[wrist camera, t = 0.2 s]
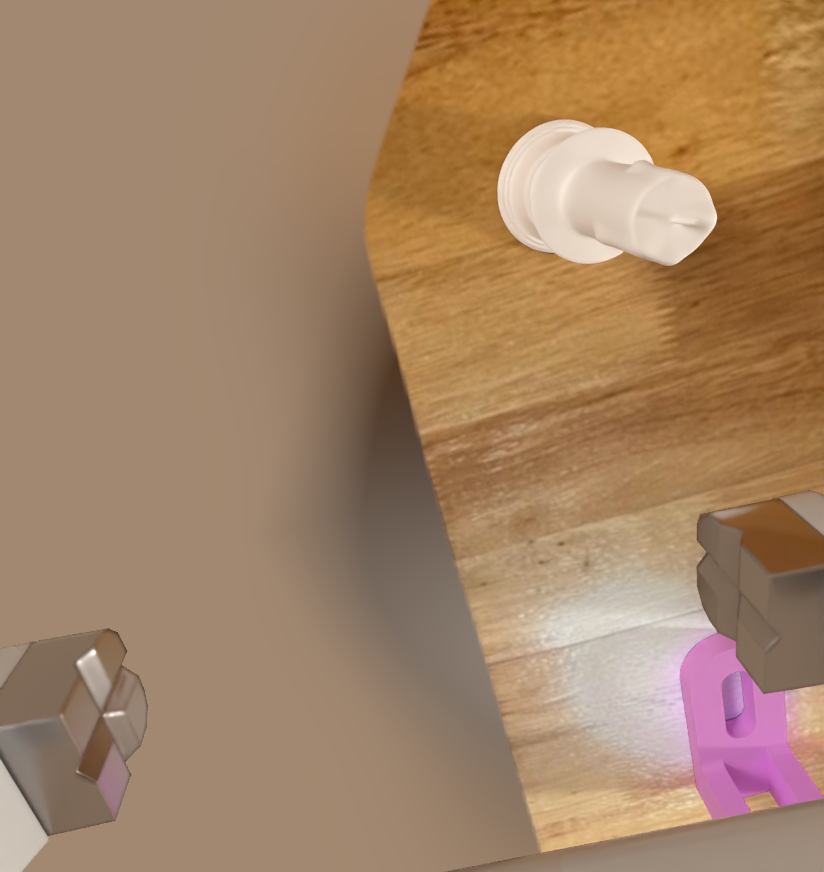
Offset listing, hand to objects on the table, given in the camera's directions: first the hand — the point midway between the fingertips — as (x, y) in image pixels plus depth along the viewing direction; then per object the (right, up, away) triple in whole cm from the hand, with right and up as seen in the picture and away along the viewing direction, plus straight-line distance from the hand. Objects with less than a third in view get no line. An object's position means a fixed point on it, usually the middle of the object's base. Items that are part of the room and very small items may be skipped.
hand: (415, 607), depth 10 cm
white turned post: (+6, +13, +20) cm, 25 cm away
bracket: (+20, -15, +34) cm, 42 cm away
